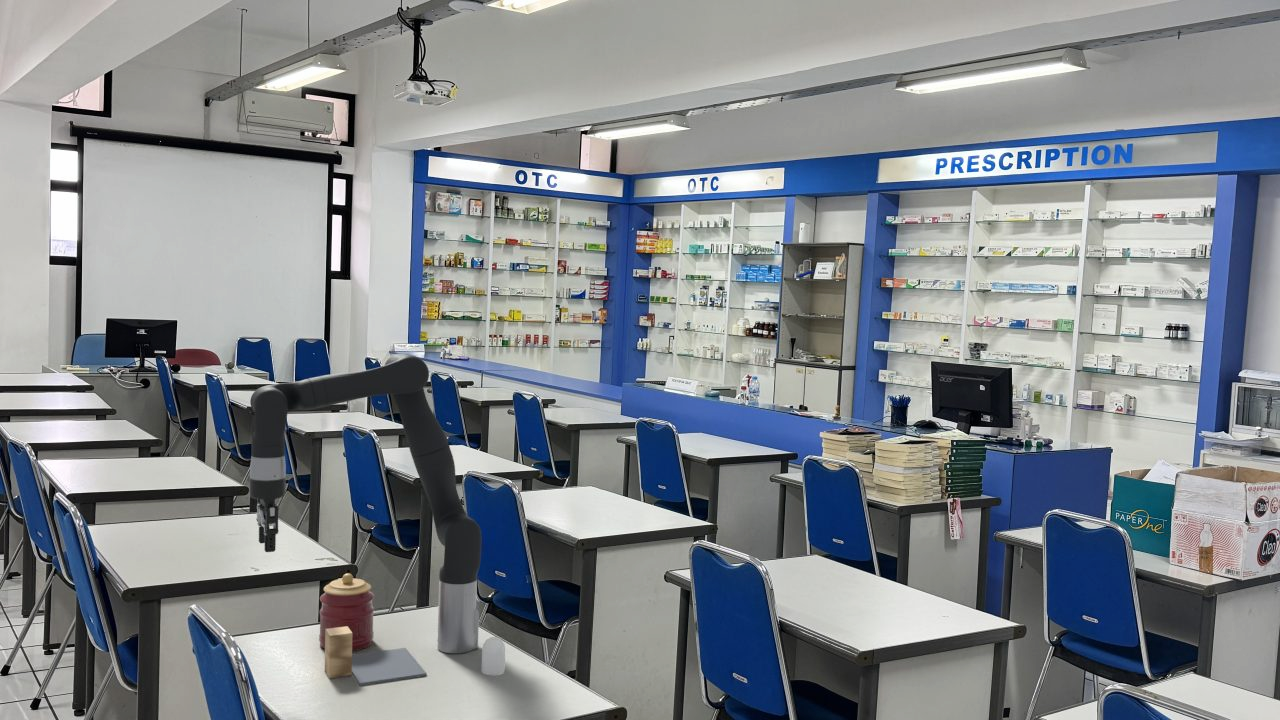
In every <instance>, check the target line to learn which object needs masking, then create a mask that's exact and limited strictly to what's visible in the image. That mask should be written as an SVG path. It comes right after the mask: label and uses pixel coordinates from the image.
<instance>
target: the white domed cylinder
mask: <svg viewBox="0 0 1280 720" xmlns="http://www.w3.org/2000/svg"><path fill="white" fill-rule="evenodd" d="M505 663H506V646H505V643H504V641H503V640H502V639H501V638H499V637H497V636H492V637H489V638H487V639H486V640H485V641H484V643H483V645H482V648H481V673H482V674H483V675H487V676H499V675H502V674H504V673H505V669H506V668H505V667H506V666H505V665H506V664H505Z"/></svg>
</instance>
